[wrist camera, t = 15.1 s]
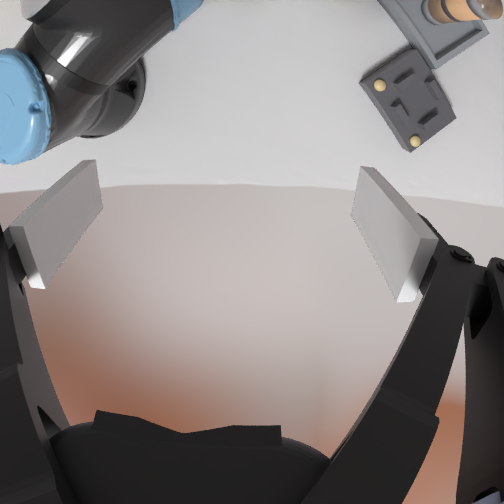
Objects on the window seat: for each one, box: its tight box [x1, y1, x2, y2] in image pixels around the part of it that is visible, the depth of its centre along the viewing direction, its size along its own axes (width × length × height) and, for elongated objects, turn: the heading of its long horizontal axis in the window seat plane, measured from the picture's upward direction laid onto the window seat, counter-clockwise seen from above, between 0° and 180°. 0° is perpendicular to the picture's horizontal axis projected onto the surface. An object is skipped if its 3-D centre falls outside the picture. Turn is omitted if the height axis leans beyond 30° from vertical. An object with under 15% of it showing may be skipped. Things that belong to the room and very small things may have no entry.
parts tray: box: [377, 0, 490, 69], centre depth 30 cm, size 14×14×3 cm
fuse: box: [421, 0, 503, 25], centre depth 25 cm, size 5×5×14 cm
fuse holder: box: [359, 49, 456, 153], centre depth 37 cm, size 12×10×5 cm
